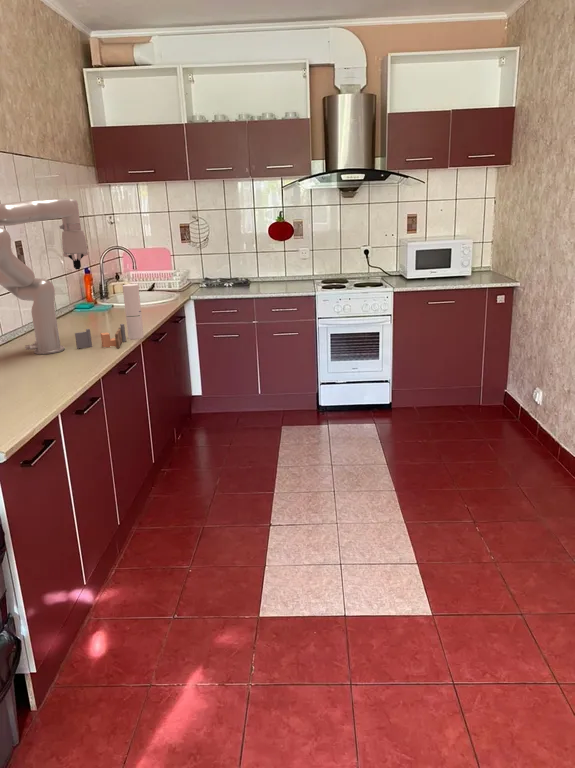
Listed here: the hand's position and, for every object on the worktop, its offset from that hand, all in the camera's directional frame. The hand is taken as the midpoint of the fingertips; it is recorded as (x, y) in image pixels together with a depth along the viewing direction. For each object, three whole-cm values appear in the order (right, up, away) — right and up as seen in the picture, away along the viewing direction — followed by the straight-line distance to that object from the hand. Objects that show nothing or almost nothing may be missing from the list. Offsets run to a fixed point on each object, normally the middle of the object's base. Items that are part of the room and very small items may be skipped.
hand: (77, 269), depth 269 cm
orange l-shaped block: (+16, -36, -5) cm, 39 cm away
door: (+20, -35, -3) cm, 40 cm away
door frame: (+12, -35, -2) cm, 37 cm away
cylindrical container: (+24, -31, +11) cm, 40 cm away
